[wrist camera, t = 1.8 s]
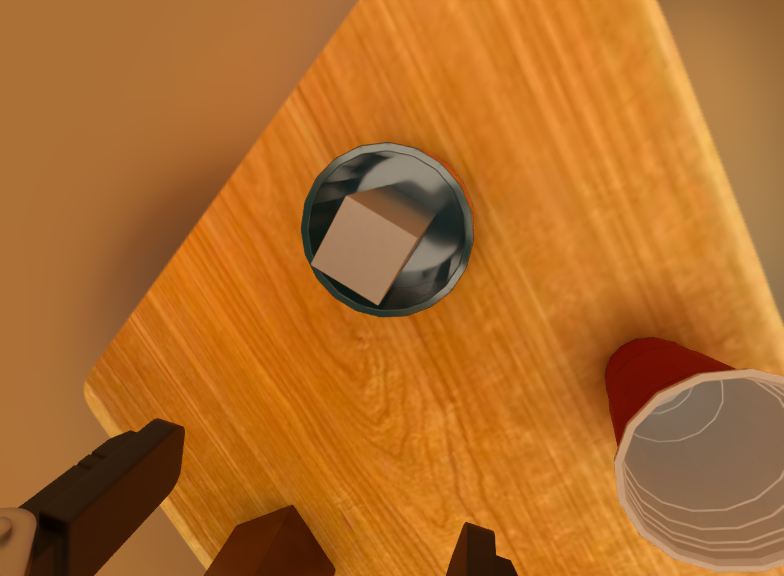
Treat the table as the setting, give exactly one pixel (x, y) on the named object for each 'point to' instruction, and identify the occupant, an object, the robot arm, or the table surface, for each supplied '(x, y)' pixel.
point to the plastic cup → (699, 455)
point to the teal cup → (421, 183)
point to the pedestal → (272, 549)
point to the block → (372, 240)
